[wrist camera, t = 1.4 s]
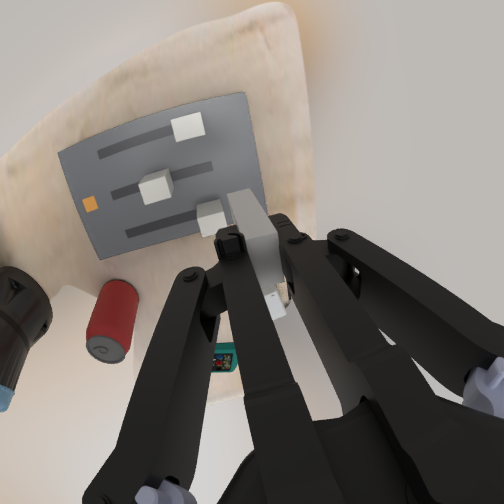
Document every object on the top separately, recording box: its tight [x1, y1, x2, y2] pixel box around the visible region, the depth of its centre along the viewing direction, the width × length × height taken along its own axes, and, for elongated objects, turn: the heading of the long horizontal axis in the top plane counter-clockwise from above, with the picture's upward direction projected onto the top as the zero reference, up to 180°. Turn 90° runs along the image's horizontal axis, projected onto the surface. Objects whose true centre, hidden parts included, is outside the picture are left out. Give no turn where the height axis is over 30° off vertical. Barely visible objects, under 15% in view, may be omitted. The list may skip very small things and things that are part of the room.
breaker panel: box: [58, 92, 268, 260], centre depth 30 cm, size 24×16×7 cm, turn 100°
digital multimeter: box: [211, 343, 238, 373], centre depth 49 cm, size 7×15×3 cm, turn 81°
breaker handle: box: [138, 168, 174, 205], centre depth 28 cm, size 3×2×4 cm
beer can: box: [86, 281, 139, 364], centre depth 35 cm, size 7×7×12 cm
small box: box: [261, 285, 287, 320], centre depth 43 cm, size 6×6×5 cm
